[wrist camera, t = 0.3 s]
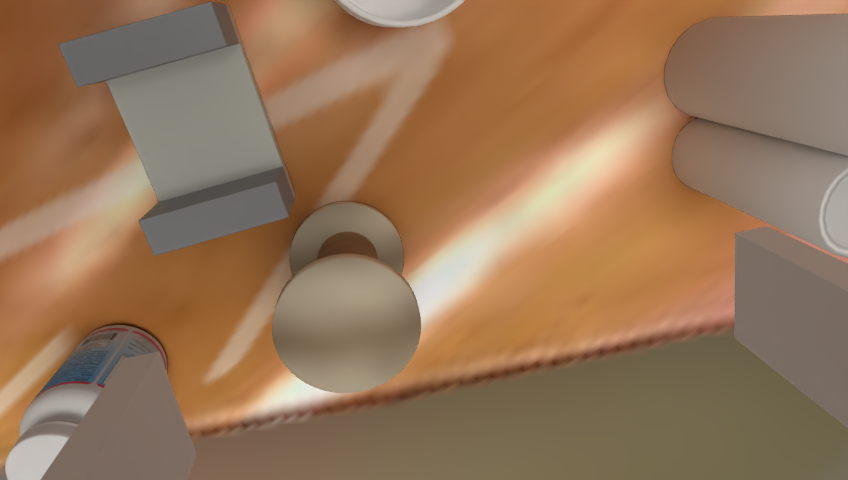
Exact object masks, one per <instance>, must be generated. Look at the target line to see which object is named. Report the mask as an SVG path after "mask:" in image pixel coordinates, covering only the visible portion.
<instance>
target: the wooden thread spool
mask: <svg viewBox="0 0 848 480" xmlns="http://www.w3.org/2000/svg"><path fill="white" fill-rule="evenodd" d="M403 266H404V250H403V246H402V242H401V238H400V235H399V233H398V231H397V229H396V227H395V226H394V224H393V223H392V222H391V220H390V219H389V218H388V217H387V216H386V215H384V214H383V213H382V212H381V211H379V210H377V209H376V208H374V207H372V206H369V205H367V204H364V203H360V202H354V201H341V202H335V203H330V204H327V205H325V206H322V207H320V208H318V209H317V210H315V211H314V212H312V213H311V214H310V215H309V216H307V217H306V218H305V219H304V221H303V222H302V223H301V224H300V226H299V227H298V229H297V231H296V233H295V235H294V238H293V242H292V245H291V250H290V267H291V271H292V275H293V276H292V278H291V279H290V280H289V281H288V282H287V284H286V285H285V287H284V288H283V290H282V292H281V294H280V296H279V298H278V301H277V305H276V308H275V312H274V316H273V323H272V334H273V340H274V344H275V347H276V350H277V352H278V354H279V356H280V358H281V360H282V361H283V363H284V364H285V366H286V367H287V368H288V369H289V370H290V371H291V372H292V373H293V374H294V375H295V376H296V377H298V378H299V379H300V380H302V381H304V382H305V383H307V384H309V385H311V386H313V387H315V388H318V389H321V390H325V391H329V392H336V393H354V392H361V391H365V390H369V389H372V388H375V387H378V386H380V385H382V384H384V383H386V382H387V381H389V380H390V379H392V378H393V377H395V376H396V375H397V374H398V373H399V372H401V370H402V369H403V368H404V367H405V366H406V365H407V364H408V362H409V361H410V360H411V358H412V356H413V354H414V353H415V351H416V348H417V345H418V343H419V338H420V333H421V318H420V313H419V308H418V304H417V301H416V298H415V295H414V293H413V291H412V289H411V287H410V285H409V284H408V283H407V281H406V280H405V279H404V277H403V276H402V275H401V274H402V270H403Z"/></svg>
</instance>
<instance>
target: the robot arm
mask: <svg viewBox="0 0 848 480" xmlns="http://www.w3.org/2000/svg"><path fill="white" fill-rule="evenodd" d="M735 339H736V340H738V341H739V342H740V343H741V344H743V345H744V346H745V347H747V348H748V349H749V350H750V351H751V352H753V353H754V354H755V355H757V356H758V357H759V358H760V359H762V360H763V361H764V362H765V363H767V364H768V365H769V366H770V367H772V368H773V369H774V370H776V371H777V372H778V373H779V374H781V375H782V376H783V377H784V378H786V379H787V380H788V381H789V382H791V383H792V384H793V385H794V386H796V387H797V388H798V389H799V390H801V391H802V392H803V393H805V394H806V395H807V396H808V397H810V398H811V399H812V400H813V401H815V402H816V403H817V404H818V405H820V406H821V407H822V408H824V409H825V410H826V411H827V412H828V413H830V414H831V415H832V416H833V417H835V418H836V419H837V420H839V421H840V422H841V423H842V424H844V425H845V426H846V427H847V428H848V264H847V263H845V262H843V261H841V260H838V259H836V258H834V257H832V256H830V255H828V254H826V253H823V252H821V251H819V250H817V249H815V248H813V247H810V246H808V245H806V244H804V243H802V242H800V241H798V240H795V239H793V238H791V237H789V236H787V235H785V234H782V233H780V232H778V231H776V230H774V229H772V228H770V227H762V228H757V229H752V230H747V231H742V232H738V233H735ZM195 457H196V452H195V449H194V446H193V443H192V441H191V438H190V435H189V432H188V430H187V427H186V424H185V421H184V419H183V416H182V413H181V410H180V408H179V405H178V402H177V399H176V397H175V394H174V391H173V389H172V386H171V383H170V380H169V378H168V375H167V372H166V369H165V367H164V364H163V361H162V358H161V356H160V353H159V352H154V353H150V354H145V355H140V356H135V357H130V358H125V359H123V360H122V362H121V363H120V365H119V366H118V368H117V369H116V370H115V372H114V373H113V375H112V376H111V378H110V379H109V381H108V382H107V384H106V385H105V386H104V388H103V389H102V391H101V392H100V394H99V395H98V397H97V398H96V400H95V401H94V402H93V404H92V405H91V407H90V408H89V410H88V411H87V413H86V414H85V416H84V417H83V418H82V420H81V421H80V423H79V424H78V426H77V427H76V429H75V430H74V432H73V433H72V434H71V436H70V437H69V439H68V440H67V442H66V443H65V445H64V446H63V448H62V449H61V450H60V452H59V453H58V455H57V456H56V458H55V459H54V461H53V462H52V464H51V465H50V466H49V468H48V469H47V471H46V472H45V474H44V475H43V477H42V478H41V480H187V479H188V476H189V473H190V471H191V468H192V464H193V462H194V459H195Z"/></svg>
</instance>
